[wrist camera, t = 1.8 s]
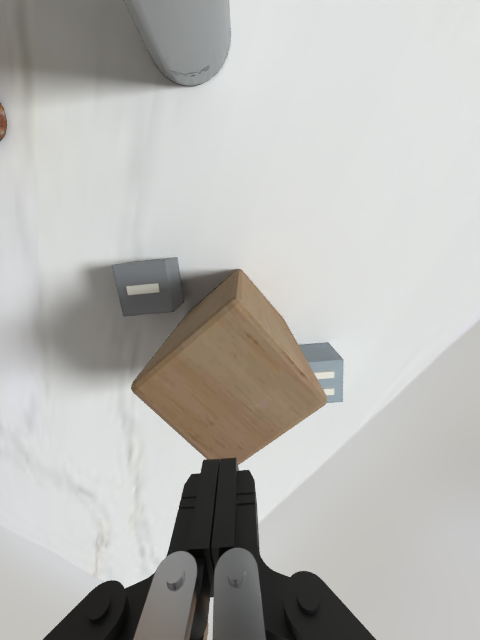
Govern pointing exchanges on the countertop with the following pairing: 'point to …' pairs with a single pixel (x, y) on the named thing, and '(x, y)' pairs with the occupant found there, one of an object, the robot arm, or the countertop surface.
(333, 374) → the slate marked block
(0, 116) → the sauce bottle
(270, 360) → the wooden block
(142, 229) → the countertop surface
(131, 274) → the charcoal marked block
